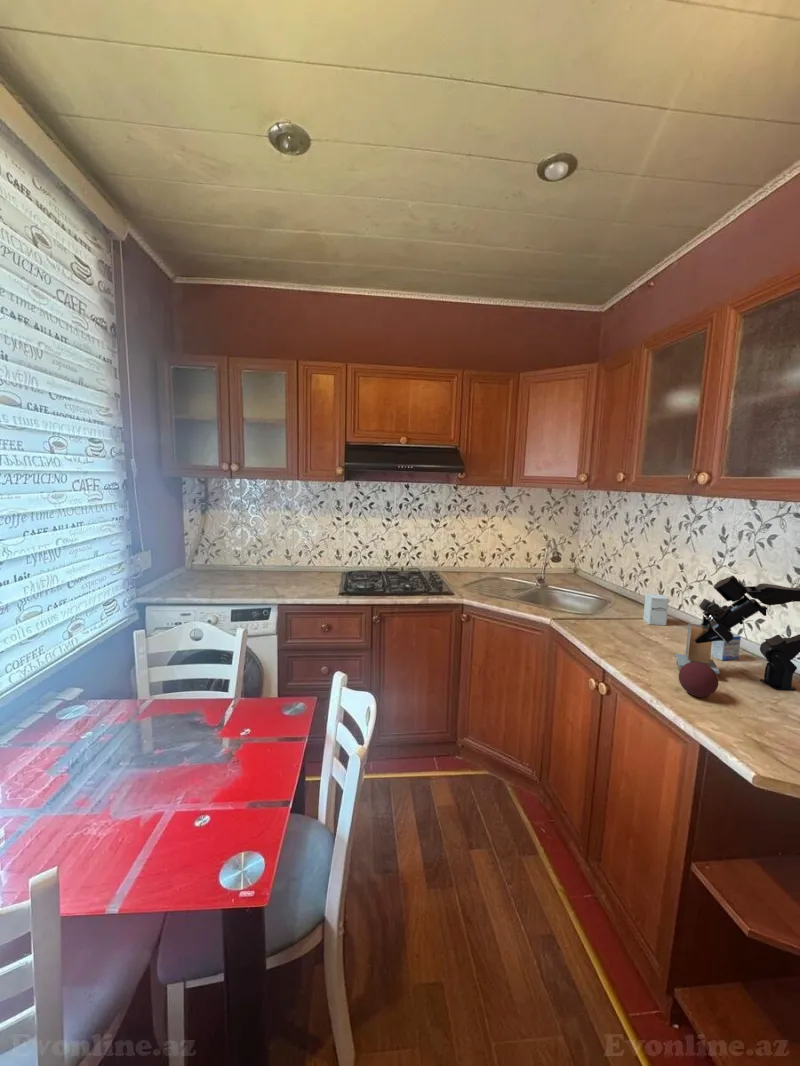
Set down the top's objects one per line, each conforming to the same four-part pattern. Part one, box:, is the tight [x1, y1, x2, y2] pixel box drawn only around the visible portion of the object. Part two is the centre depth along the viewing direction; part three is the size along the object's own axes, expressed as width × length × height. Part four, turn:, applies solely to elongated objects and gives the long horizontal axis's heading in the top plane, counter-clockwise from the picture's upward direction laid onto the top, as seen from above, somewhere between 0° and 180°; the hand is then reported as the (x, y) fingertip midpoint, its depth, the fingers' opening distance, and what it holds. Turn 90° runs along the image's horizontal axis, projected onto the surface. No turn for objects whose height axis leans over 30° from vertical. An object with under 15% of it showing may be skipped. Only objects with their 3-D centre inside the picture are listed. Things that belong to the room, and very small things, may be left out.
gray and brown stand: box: [675, 653, 720, 675], centre depth 151 cm, size 11×11×3 cm
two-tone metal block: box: [685, 622, 712, 664], centre depth 150 cm, size 6×6×11 cm
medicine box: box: [710, 633, 741, 661], centre depth 163 cm, size 8×4×9 cm, turn 105°
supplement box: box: [642, 593, 670, 626], centre depth 201 cm, size 7×7×13 cm
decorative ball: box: [678, 662, 719, 698], centre depth 134 cm, size 10×10×10 cm
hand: (694, 639), depth 150 cm, fingers closed on two-tone metal block, 6 cm apart
